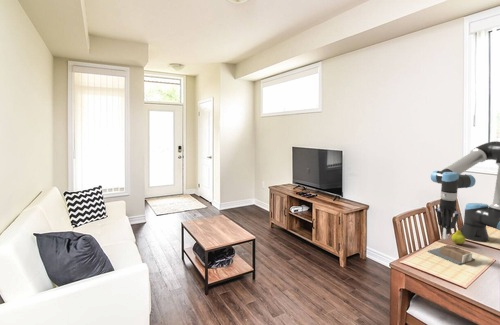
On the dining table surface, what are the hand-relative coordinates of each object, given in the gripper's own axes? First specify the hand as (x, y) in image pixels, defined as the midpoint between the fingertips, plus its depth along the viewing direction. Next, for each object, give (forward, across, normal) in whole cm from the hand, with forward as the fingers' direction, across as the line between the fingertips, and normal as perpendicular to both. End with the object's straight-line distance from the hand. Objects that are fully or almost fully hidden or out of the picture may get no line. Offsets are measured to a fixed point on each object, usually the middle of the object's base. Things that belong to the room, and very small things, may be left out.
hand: (445, 238), depth 158 cm
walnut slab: (+6, 0, 0) cm, 6 cm away
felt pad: (+9, +4, 0) cm, 10 cm away
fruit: (+9, -5, +22) cm, 24 cm away
